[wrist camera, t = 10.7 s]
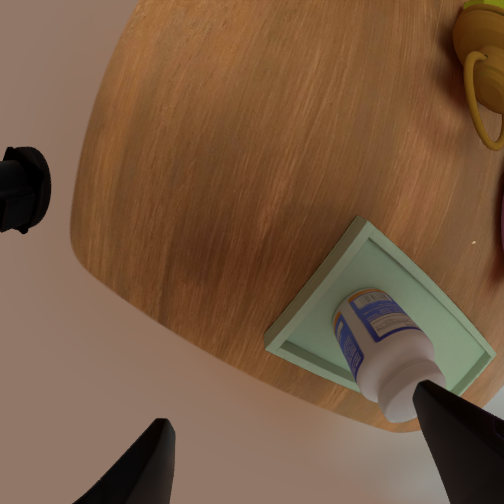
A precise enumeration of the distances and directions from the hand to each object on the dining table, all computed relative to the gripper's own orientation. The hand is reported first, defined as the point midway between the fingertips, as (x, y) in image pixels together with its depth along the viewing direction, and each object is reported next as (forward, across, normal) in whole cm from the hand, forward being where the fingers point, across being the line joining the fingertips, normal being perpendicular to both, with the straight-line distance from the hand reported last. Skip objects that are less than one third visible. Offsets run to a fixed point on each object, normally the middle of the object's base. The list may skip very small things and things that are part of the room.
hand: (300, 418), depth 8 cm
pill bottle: (+12, -7, +4) cm, 15 cm away
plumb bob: (+12, -22, -19) cm, 31 cm away
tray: (+12, -14, +10) cm, 21 cm away
